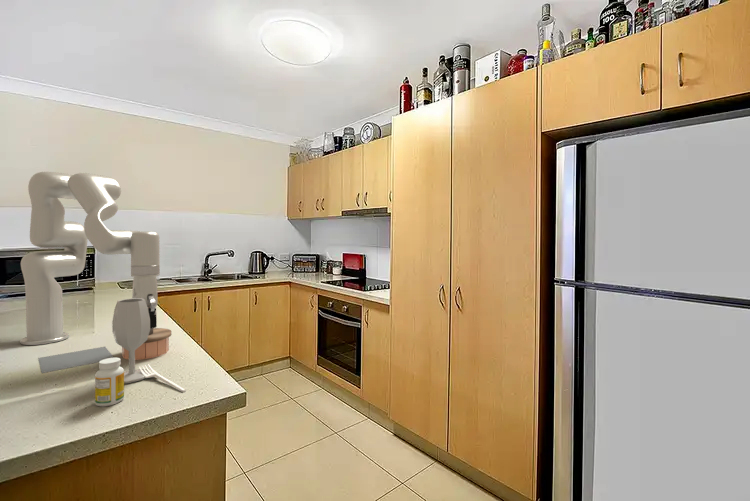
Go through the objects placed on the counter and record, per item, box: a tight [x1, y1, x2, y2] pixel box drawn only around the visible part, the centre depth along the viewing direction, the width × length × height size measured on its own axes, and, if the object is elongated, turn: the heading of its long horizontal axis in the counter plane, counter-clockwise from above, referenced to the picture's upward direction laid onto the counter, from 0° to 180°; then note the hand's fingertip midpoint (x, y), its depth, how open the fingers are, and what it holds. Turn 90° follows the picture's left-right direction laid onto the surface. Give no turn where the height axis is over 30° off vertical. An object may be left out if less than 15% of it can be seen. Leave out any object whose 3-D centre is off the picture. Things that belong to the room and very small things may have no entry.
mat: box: [38, 346, 115, 374], centre depth 106 cm, size 16×16×1 cm
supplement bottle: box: [94, 357, 125, 407], centre depth 81 cm, size 5×5×10 cm
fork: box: [138, 363, 186, 393], centre depth 92 cm, size 3×20×2 cm, turn 58°
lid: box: [144, 327, 172, 343], centre depth 111 cm, size 14×14×6 cm
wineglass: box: [111, 297, 150, 385], centre depth 94 cm, size 9×9×21 cm
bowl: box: [121, 337, 170, 361], centre depth 112 cm, size 12×12×6 cm
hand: (145, 325), depth 111 cm, fingers open, 9 cm apart
